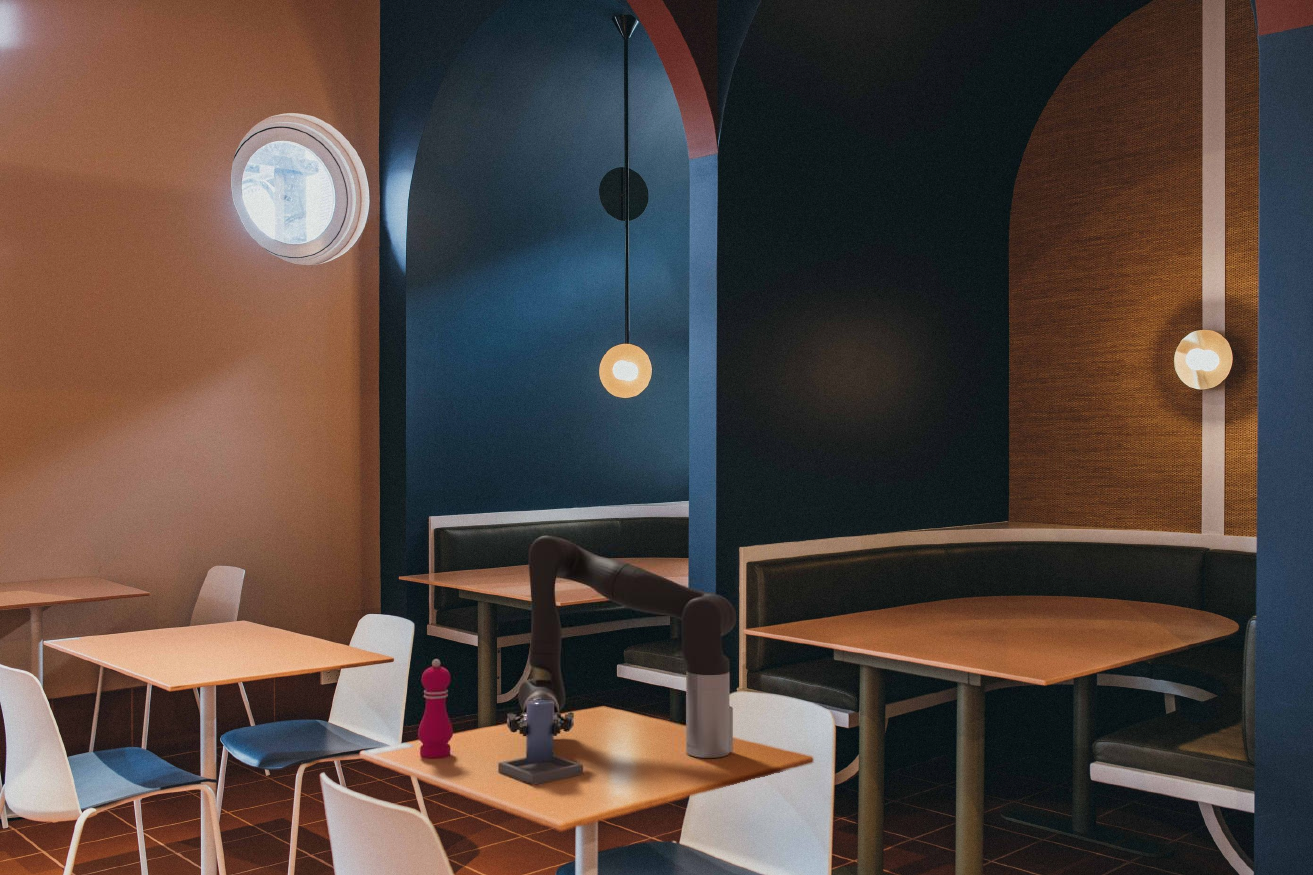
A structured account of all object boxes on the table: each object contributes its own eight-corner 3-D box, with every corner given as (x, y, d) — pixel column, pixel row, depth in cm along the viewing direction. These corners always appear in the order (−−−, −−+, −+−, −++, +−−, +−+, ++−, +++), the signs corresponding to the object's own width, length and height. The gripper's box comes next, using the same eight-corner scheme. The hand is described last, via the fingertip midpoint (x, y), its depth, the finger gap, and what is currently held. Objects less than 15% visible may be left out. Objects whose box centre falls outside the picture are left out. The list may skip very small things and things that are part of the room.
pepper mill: (459, 752, 229) (460, 657, 230) (438, 760, 223) (439, 662, 224) (431, 748, 232) (432, 655, 233) (410, 756, 226) (411, 660, 227)
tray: (548, 761, 222) (548, 752, 222) (583, 773, 213) (583, 764, 213) (498, 771, 214) (498, 762, 214) (532, 784, 205) (532, 775, 205)
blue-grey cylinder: (543, 753, 218) (544, 698, 218) (558, 758, 214) (559, 702, 214) (520, 757, 214) (521, 701, 215) (536, 763, 210) (536, 706, 210)
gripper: (507, 694, 228) (503, 712, 211) (575, 693, 229) (577, 711, 212) (506, 729, 228) (502, 750, 211) (574, 728, 229) (576, 749, 212)
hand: (540, 730), depth 212 cm, fingers closed on blue-grey cylinder, 5 cm apart
